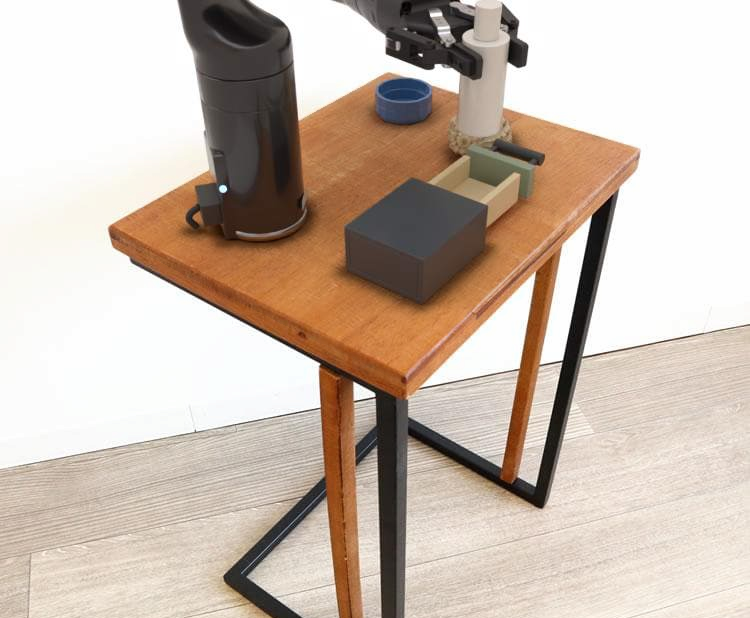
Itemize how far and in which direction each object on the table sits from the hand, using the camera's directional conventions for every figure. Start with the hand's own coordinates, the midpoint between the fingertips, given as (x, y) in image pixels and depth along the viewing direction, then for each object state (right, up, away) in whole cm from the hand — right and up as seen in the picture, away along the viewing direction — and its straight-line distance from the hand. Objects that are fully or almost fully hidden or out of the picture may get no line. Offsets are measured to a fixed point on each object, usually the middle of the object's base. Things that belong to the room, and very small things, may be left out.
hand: (501, 63), depth 77 cm
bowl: (-8, +5, +31) cm, 32 cm away
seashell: (+1, -1, +24) cm, 24 cm away
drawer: (+1, -9, +15) cm, 17 cm away
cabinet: (-7, -17, +8) cm, 20 cm away
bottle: (-1, -4, +7) cm, 8 cm away
